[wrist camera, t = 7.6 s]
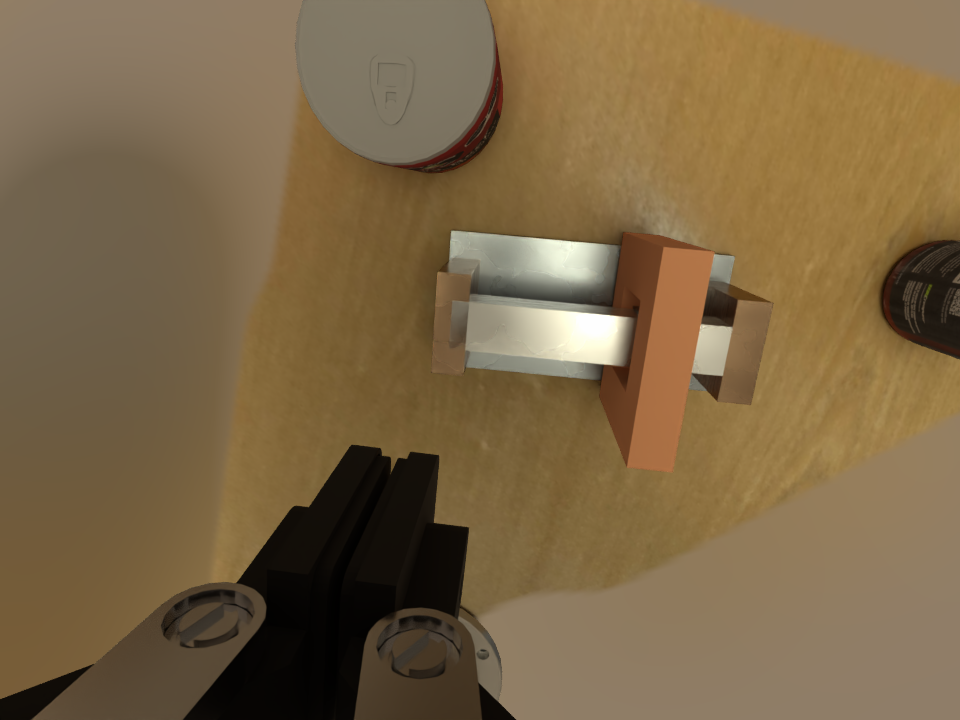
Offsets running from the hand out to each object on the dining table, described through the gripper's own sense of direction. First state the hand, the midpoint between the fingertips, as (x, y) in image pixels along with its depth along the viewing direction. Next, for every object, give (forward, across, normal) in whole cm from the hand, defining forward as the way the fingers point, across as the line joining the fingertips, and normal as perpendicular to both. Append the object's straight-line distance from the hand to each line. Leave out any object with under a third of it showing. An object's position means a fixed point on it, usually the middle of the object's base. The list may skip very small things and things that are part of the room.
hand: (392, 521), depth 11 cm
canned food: (+25, +4, -11) cm, 28 cm away
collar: (+24, -9, 0) cm, 25 cm away
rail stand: (+25, -6, 0) cm, 26 cm away
